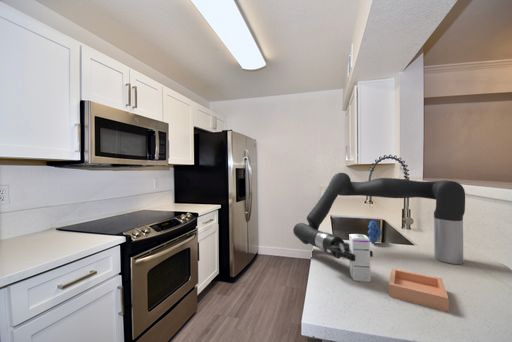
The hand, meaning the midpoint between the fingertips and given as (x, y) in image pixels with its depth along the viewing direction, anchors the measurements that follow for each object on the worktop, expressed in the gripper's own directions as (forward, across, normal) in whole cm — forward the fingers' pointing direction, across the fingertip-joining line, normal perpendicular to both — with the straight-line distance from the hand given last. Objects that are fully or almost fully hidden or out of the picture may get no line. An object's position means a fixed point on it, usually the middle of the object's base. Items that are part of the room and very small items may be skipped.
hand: (363, 256), depth 76 cm
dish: (+13, +7, +8) cm, 17 cm away
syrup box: (-2, 0, +8) cm, 8 cm away
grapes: (-25, +40, +8) cm, 48 cm away
